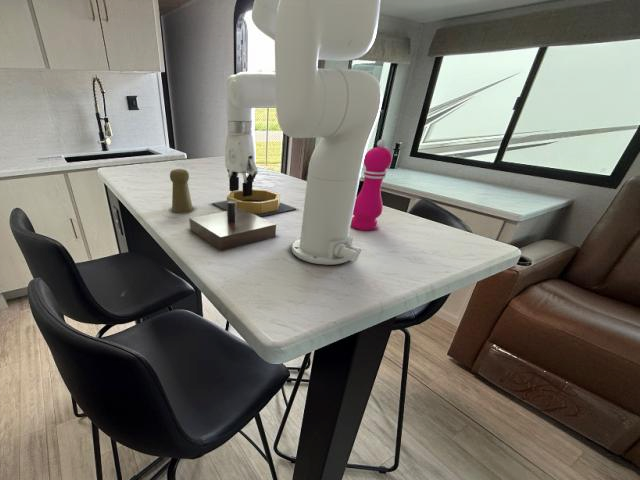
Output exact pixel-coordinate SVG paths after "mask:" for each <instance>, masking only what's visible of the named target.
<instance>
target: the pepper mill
mask: <svg viewBox="0 0 640 480" xmlns="http://www.w3.org/2000/svg"><path fill="white" fill-rule="evenodd" d="M385 146H386V140H384V139H379V140H378V141H377V143H376V147H373V148H370V149H369V150H368V151H366V153H365V157H364V162H363V166H364V167H365V169H364V170H363V174H362V176H363V177H364V178H363V184H362V187H361V190H360V192H359V193H358V194H357V195H356V201H355V206H354V211H353V216H352V221H351V226H350V227H352V228H354V229H356V230H361V231H373V230H375V229H376V228H377V225H378V220H377V219H378V218H379V217H381V215H382V213H383V209H384V208H383V206H384V204H383V199H382V193H381V192H382V183H383V180H384V179H385V178H386V177H387V176H386V174H387V169H388V168H389V167H390V166H391V164H392V161H393V154H392V152H391V151H390V149H388V148H387V147H385Z"/></svg>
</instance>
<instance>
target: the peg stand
mask: <svg viewBox="0 0 640 480" xmlns="http://www.w3.org/2000/svg"><path fill="white" fill-rule="evenodd" d="M189 230H190V231H191V232H193V233H194V234H196V235H197V236H199V237H200V238H202V239H203V240H205V241H206V242H207V243H209V244H210V245H212V246H214V247H215V248H217V249H218V250H220V251H224V250H228V249H232V248H236V247H240V246H244V245H248V244H252V243H255V242H259V241H264V240H267V239H271V238H275V237H276V234H277V223H275V222H272V221H270V220H268V219H265V218H264V217H259V216H257V215H254V214H252V213H250V212H248V211H246V210H243V209H241V208H240V209H236V202H235V201H228V202H227V211H225V210H223V211H219V212H214V213H208V214H203V215H198V216H193V217H189Z"/></svg>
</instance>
